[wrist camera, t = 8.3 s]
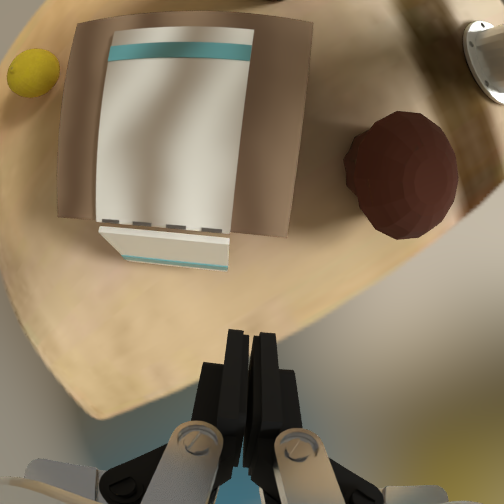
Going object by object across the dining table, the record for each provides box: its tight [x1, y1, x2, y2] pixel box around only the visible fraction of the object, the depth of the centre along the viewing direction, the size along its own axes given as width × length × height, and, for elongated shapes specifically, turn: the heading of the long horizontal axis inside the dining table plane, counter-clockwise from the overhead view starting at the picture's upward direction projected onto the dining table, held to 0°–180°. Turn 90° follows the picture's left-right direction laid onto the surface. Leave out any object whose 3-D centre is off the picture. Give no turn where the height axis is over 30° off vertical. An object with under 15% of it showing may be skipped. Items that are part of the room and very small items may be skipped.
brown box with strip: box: [57, 11, 313, 238], centre depth 23 cm, size 18×16×11 cm
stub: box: [99, 226, 230, 272], centre depth 25 cm, size 10×8×1 cm
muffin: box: [343, 111, 458, 240], centre depth 25 cm, size 12×11×10 cm
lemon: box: [7, 49, 60, 98], centre depth 21 cm, size 6×6×8 cm
